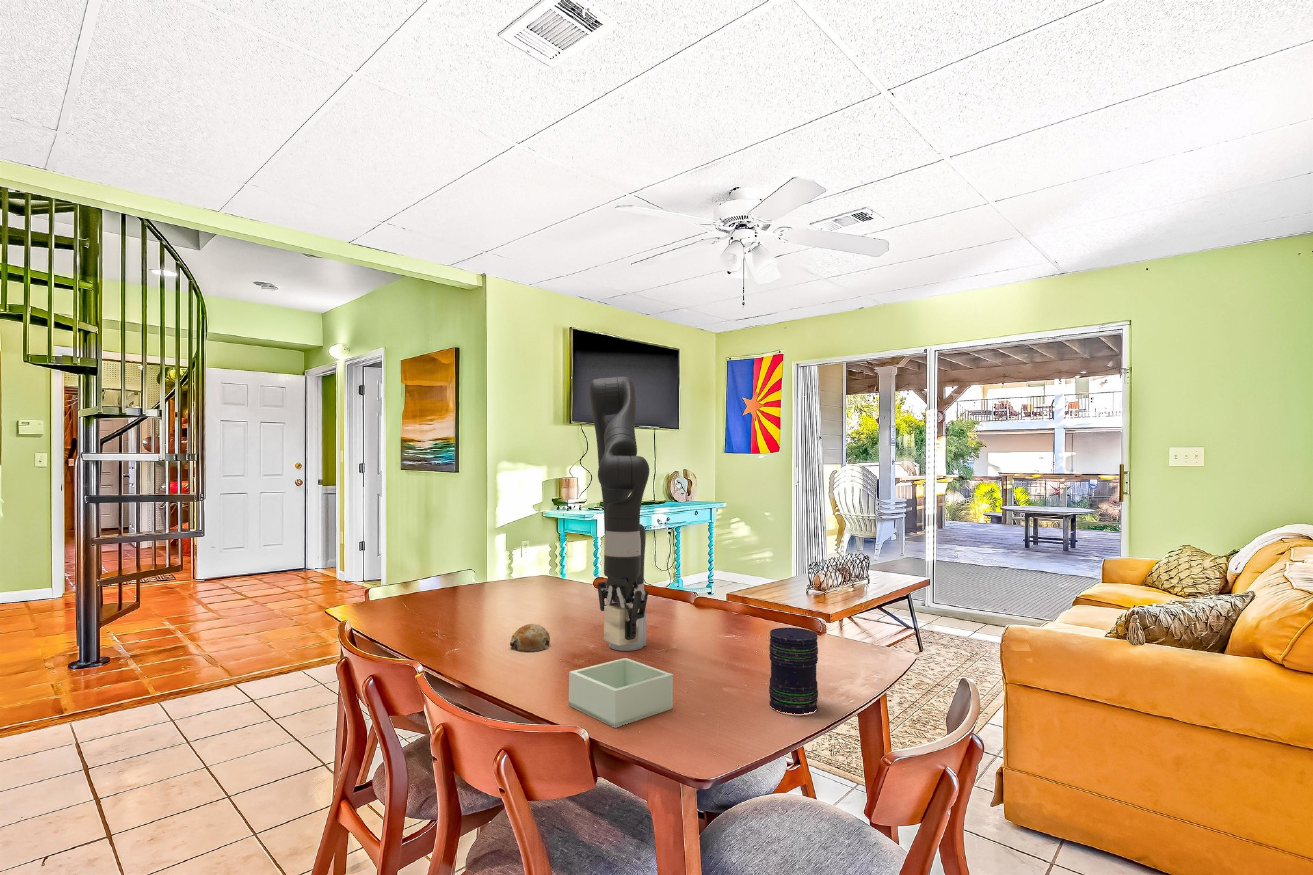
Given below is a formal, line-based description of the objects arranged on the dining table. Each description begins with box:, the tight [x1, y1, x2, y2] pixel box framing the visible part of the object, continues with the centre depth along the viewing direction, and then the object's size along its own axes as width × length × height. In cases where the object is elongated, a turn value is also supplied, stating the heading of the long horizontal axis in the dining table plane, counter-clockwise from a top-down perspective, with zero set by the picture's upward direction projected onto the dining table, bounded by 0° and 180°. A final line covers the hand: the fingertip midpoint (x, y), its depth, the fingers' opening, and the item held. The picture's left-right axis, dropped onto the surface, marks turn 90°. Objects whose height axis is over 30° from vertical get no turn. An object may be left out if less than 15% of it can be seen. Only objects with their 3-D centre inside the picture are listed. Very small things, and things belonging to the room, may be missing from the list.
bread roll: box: [509, 623, 551, 653], centre depth 174 cm, size 10×10×8 cm
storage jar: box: [768, 627, 819, 714], centre depth 133 cm, size 10×10×15 cm
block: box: [603, 604, 639, 646], centre depth 132 cm, size 5×5×7 cm
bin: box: [568, 657, 674, 729], centre depth 132 cm, size 15×15×7 cm
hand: (621, 636), depth 132 cm, fingers closed on block, 5 cm apart
